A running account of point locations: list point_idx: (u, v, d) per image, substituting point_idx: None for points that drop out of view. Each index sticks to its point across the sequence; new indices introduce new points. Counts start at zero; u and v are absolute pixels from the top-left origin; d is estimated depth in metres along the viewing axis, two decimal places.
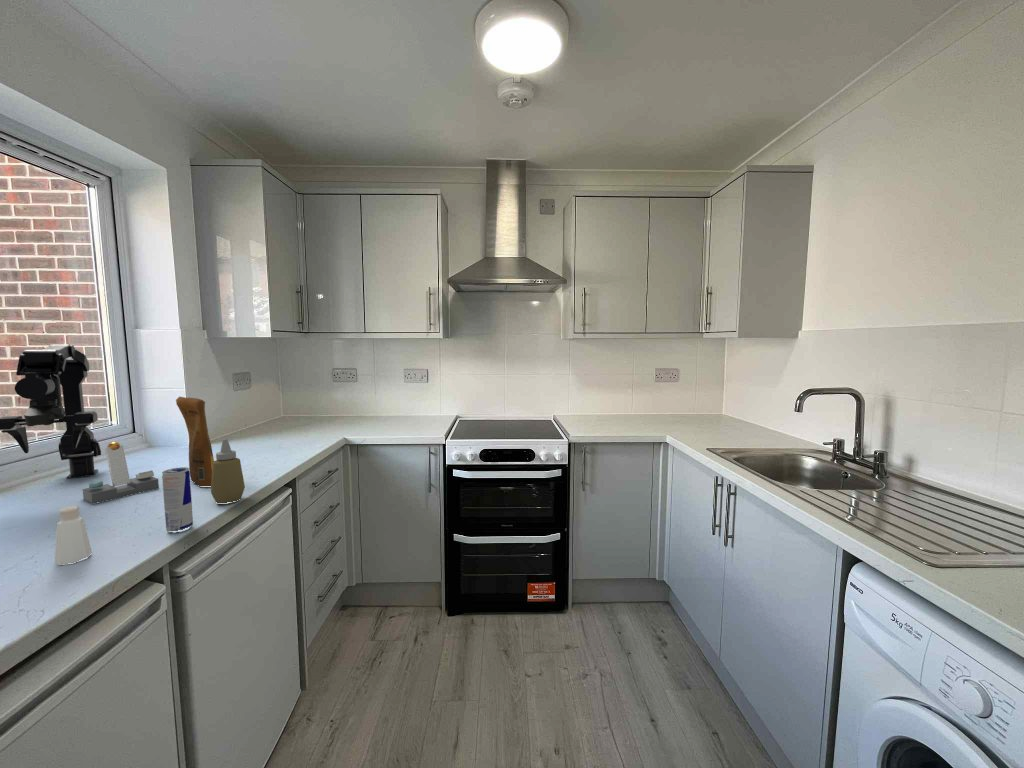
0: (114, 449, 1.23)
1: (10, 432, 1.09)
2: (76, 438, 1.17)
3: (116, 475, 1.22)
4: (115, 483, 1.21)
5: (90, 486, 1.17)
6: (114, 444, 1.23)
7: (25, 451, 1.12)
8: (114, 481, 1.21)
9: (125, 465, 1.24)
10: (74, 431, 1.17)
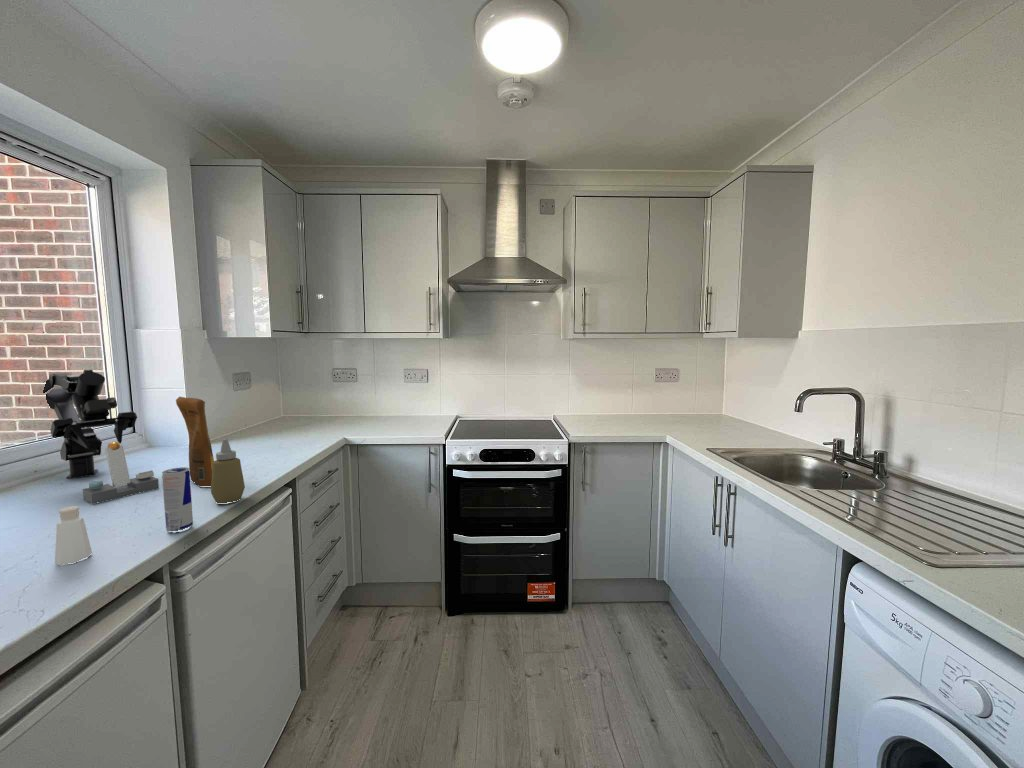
0: (114, 449, 1.23)
1: (74, 426, 1.23)
2: (121, 432, 1.31)
3: (116, 475, 1.22)
4: (115, 483, 1.21)
5: (90, 486, 1.17)
6: (114, 444, 1.23)
7: (87, 444, 1.24)
8: (114, 481, 1.21)
9: (125, 465, 1.24)
10: (118, 426, 1.31)
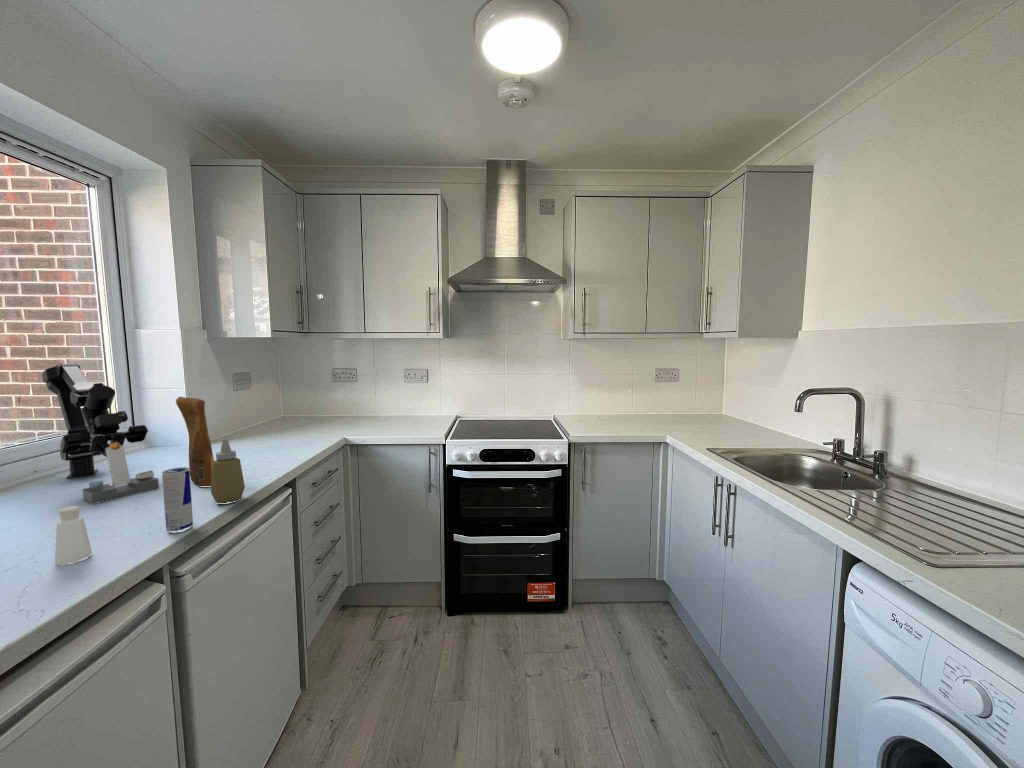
0: (114, 449, 1.23)
1: (100, 439, 1.23)
2: None
3: (116, 475, 1.22)
4: (115, 483, 1.21)
5: (90, 486, 1.17)
6: (114, 444, 1.23)
7: None
8: (114, 481, 1.21)
9: (125, 465, 1.24)
10: None
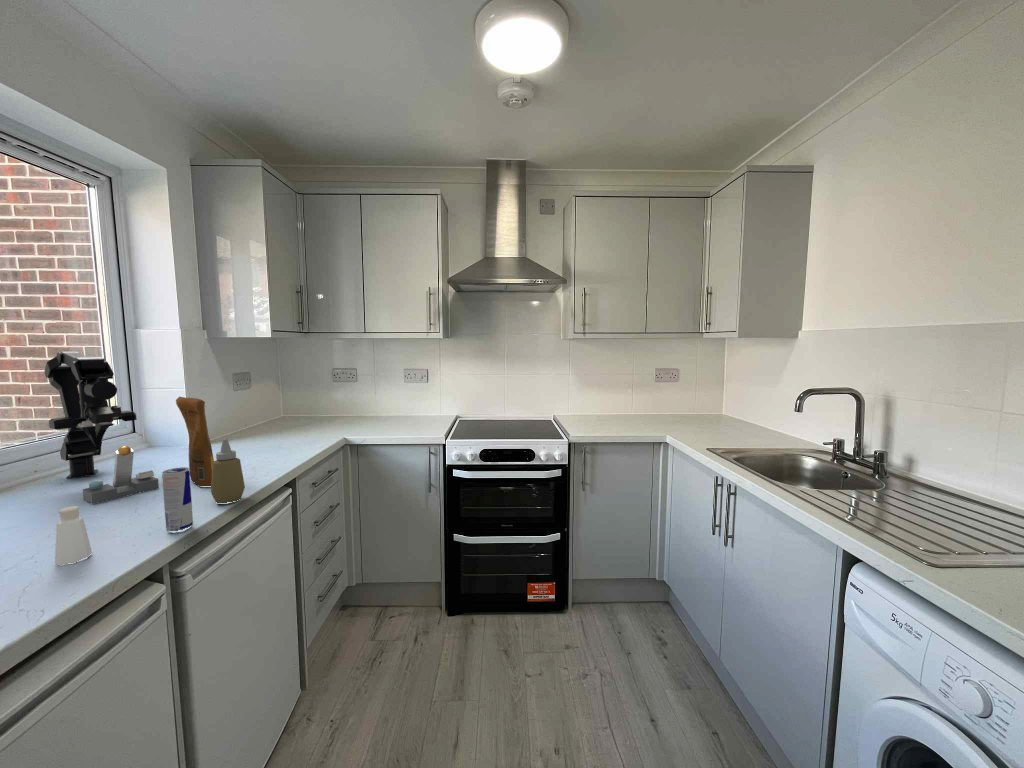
0: (124, 455, 1.19)
1: (89, 428, 1.27)
2: (101, 437, 1.31)
3: (119, 478, 1.21)
4: (116, 485, 1.21)
5: (90, 486, 1.17)
6: (125, 451, 1.19)
7: (96, 445, 1.30)
8: (116, 483, 1.21)
9: (130, 469, 1.22)
10: (100, 430, 1.30)
